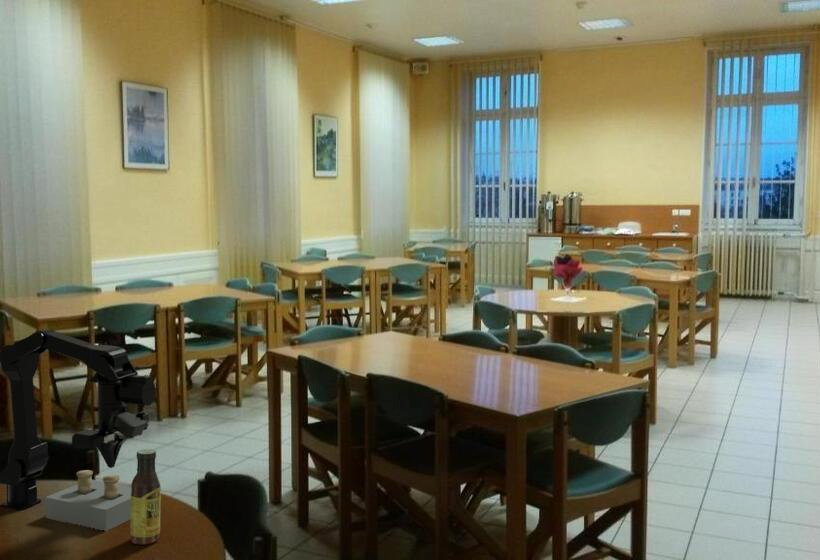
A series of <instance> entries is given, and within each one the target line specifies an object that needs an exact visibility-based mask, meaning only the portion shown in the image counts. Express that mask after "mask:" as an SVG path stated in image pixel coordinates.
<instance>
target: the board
mask: <svg viewBox="0 0 820 560" xmlns="http://www.w3.org/2000/svg"><path fill="white" fill-rule="evenodd" d="M130 511H131V486H128V485H124V484H119V483H118V498H116V499H114V500H107V499H104V481H103V480H102V481H101V480H99V479H92V492H91V493H89V494H86V495H83V494H78V483H77V484H75V485H73V486H70V487H68V488H65V489H62V490H60V491H58V492H55V493H52V494H50V495H47V496H46V497H45V519H50V520H53V521H58V522H63V523H66V522H69V523H68V524H71V523H73V524H72V525H75V524H78V525H77V526H80V525H82V526H81V527H84V526H86V527H85V528H89V527H91V528H90V529H93V528H95V530H98V529H99V531H102V530H104V531H103V532H108V531H110V530H112V529H114V528H116V527H118V526H119V525H122V524H124V523H126V522H128V521H130ZM109 529H110V530H109Z"/></svg>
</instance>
